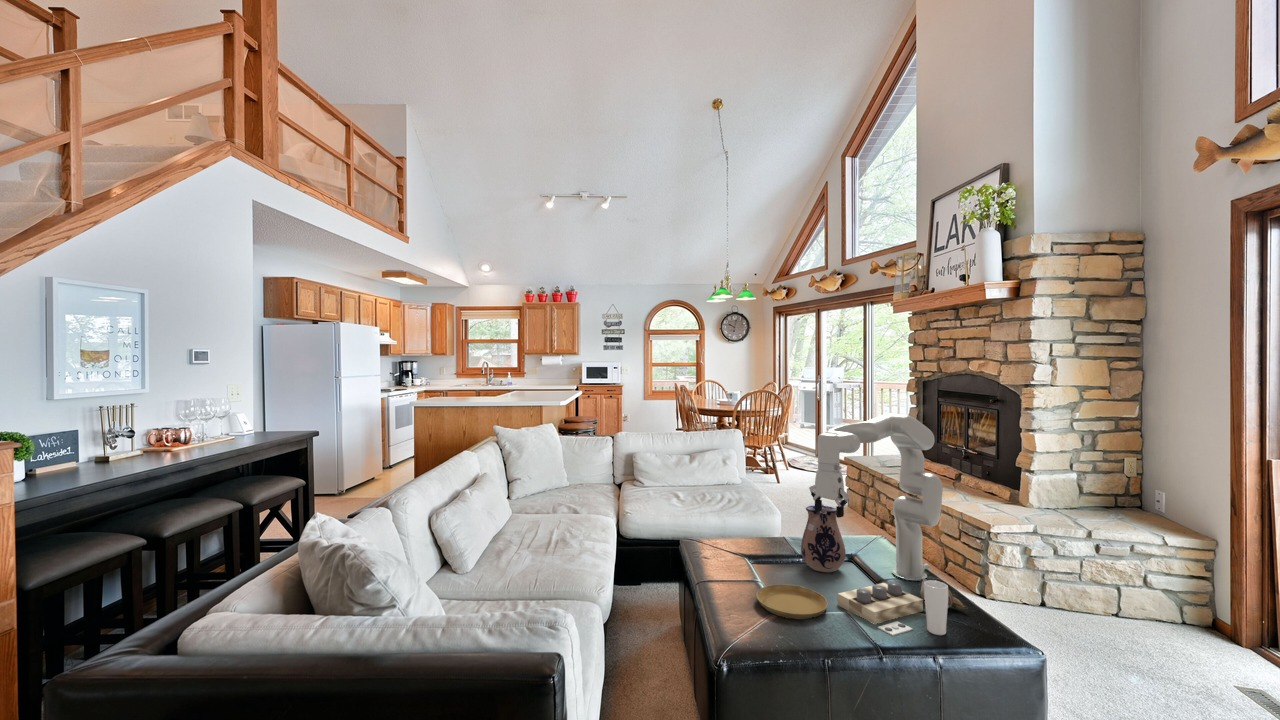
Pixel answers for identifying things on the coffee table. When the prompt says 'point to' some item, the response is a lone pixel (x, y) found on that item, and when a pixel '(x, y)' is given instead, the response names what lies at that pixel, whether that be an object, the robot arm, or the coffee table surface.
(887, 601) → the button board
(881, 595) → the middle button
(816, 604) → the plant saucer
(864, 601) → the button
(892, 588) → the button
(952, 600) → the ceramic sculpture
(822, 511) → the ceramic pitcher
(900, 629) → the pattern card
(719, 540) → the coffee table surface
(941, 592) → the drinking glass
